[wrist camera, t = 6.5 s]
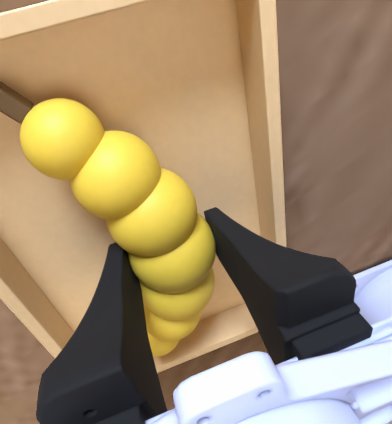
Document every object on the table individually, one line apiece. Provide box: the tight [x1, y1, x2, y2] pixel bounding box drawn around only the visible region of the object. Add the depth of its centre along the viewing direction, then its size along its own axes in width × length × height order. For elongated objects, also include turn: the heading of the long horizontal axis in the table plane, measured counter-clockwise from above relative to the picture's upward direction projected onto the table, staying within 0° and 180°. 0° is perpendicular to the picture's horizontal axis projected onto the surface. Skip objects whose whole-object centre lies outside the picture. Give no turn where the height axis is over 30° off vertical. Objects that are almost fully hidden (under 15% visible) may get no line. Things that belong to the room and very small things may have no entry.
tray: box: [0, 0, 286, 373], centre depth 15 cm, size 19×13×2 cm
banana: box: [0, 81, 216, 357], centre depth 14 cm, size 16×6×4 cm, turn 12°
